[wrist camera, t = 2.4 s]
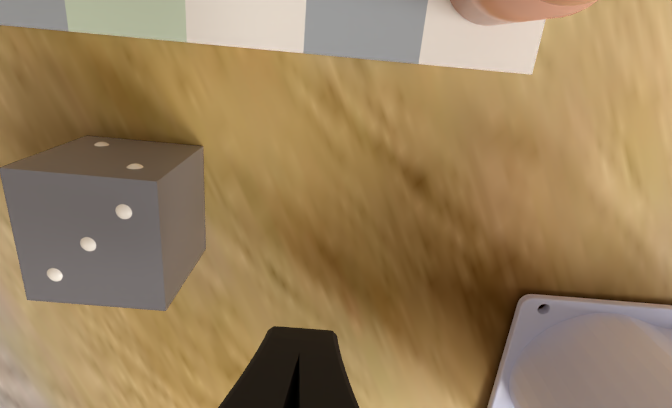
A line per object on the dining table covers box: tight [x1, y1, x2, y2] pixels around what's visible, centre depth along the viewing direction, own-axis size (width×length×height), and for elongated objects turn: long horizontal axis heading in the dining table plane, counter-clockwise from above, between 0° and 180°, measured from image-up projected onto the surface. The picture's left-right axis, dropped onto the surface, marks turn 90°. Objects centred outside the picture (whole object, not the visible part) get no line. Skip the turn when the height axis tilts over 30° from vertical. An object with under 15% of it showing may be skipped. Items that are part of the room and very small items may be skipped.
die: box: [0, 136, 206, 311], centre depth 15 cm, size 5×5×5 cm
